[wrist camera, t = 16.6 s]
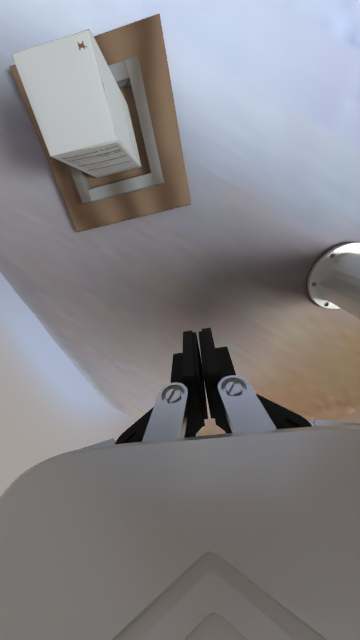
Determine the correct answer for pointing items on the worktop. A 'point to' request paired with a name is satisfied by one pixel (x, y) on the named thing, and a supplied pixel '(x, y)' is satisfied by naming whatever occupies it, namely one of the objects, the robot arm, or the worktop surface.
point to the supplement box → (78, 105)
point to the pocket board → (149, 128)
